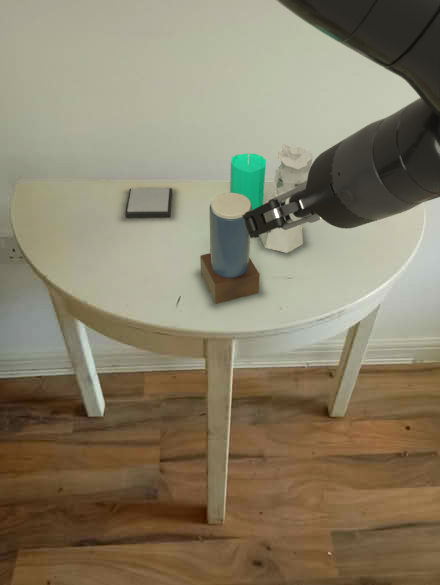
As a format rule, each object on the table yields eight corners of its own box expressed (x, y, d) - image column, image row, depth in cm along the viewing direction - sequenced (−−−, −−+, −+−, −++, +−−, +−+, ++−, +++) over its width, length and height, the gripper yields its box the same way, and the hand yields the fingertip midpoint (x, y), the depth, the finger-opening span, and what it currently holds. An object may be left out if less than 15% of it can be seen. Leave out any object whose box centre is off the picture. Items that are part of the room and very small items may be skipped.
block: (215, 304, 75) (215, 285, 72) (200, 274, 80) (200, 255, 77) (258, 293, 77) (260, 274, 74) (241, 264, 82) (242, 245, 79)
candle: (224, 217, 90) (225, 158, 82) (236, 200, 94) (238, 141, 86) (256, 225, 89) (260, 165, 80) (266, 207, 93) (271, 148, 84)
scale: (125, 218, 90) (124, 211, 89) (130, 193, 96) (129, 186, 95) (170, 217, 90) (169, 211, 90) (172, 192, 96) (171, 186, 95)
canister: (217, 281, 73) (217, 220, 65) (205, 256, 77) (203, 196, 69) (254, 272, 74) (259, 211, 67) (240, 248, 78) (242, 188, 70)
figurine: (269, 256, 83) (278, 159, 70) (255, 227, 89) (261, 132, 76) (309, 249, 84) (325, 153, 71) (293, 221, 90) (305, 127, 77)
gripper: (419, 112, 44) (320, 167, 59) (287, 154, 39) (216, 202, 54) (447, 193, 45) (342, 227, 60) (320, 244, 40) (240, 267, 55)
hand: (282, 215), depth 57 cm, fingers open, 8 cm apart
